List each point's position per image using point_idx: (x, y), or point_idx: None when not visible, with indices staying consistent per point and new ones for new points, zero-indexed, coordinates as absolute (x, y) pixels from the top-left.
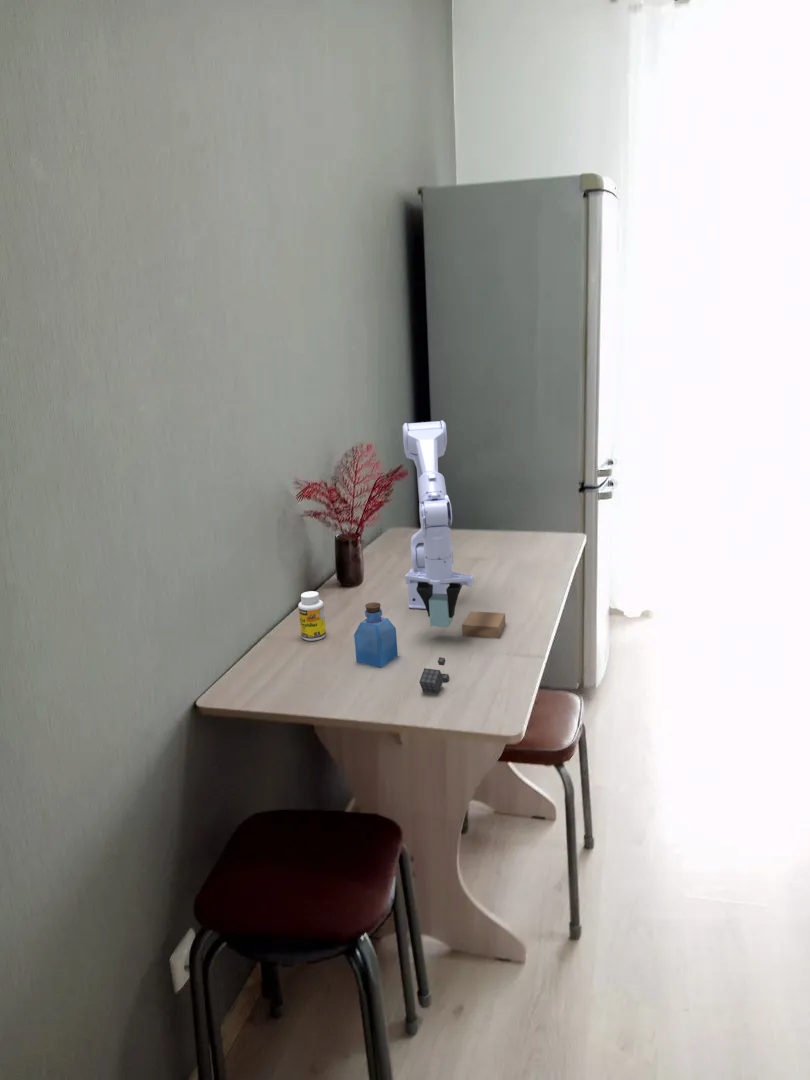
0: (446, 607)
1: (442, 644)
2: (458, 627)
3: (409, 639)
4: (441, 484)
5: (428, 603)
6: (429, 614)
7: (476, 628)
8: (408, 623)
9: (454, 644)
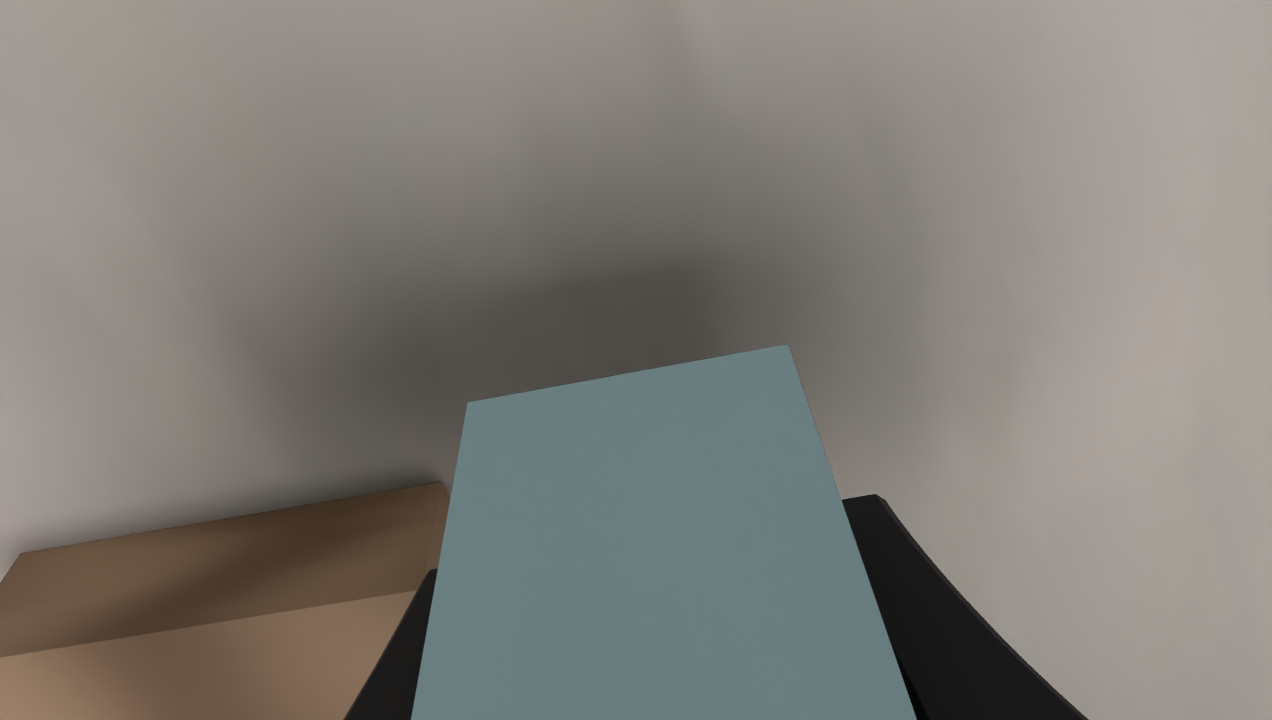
0: (440, 701)
1: (559, 195)
2: None
3: (1077, 192)
4: None
5: (936, 712)
6: (863, 522)
7: (238, 591)
8: (1189, 563)
9: (402, 248)
